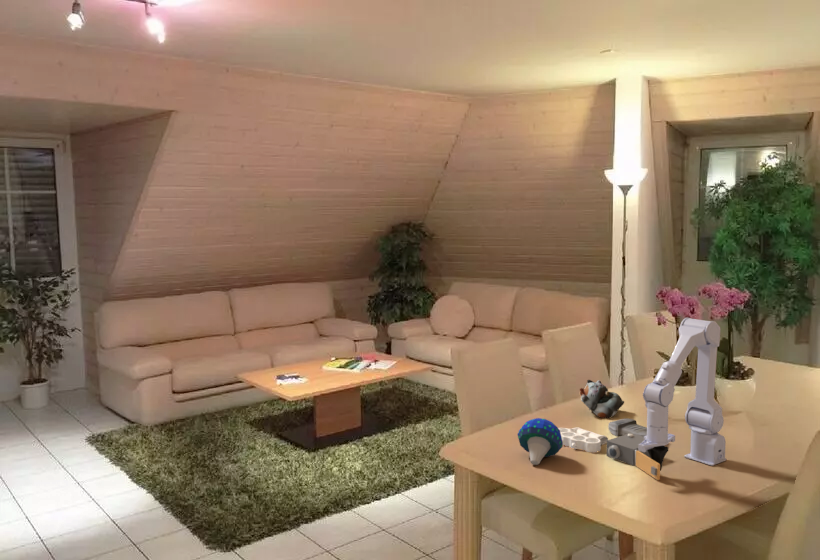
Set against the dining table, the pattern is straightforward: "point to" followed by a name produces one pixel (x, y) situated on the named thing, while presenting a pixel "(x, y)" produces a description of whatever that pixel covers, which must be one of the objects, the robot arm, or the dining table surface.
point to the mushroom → (540, 439)
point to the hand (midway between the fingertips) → (656, 470)
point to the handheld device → (626, 428)
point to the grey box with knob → (625, 448)
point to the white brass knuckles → (582, 439)
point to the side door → (647, 465)
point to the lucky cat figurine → (600, 399)
